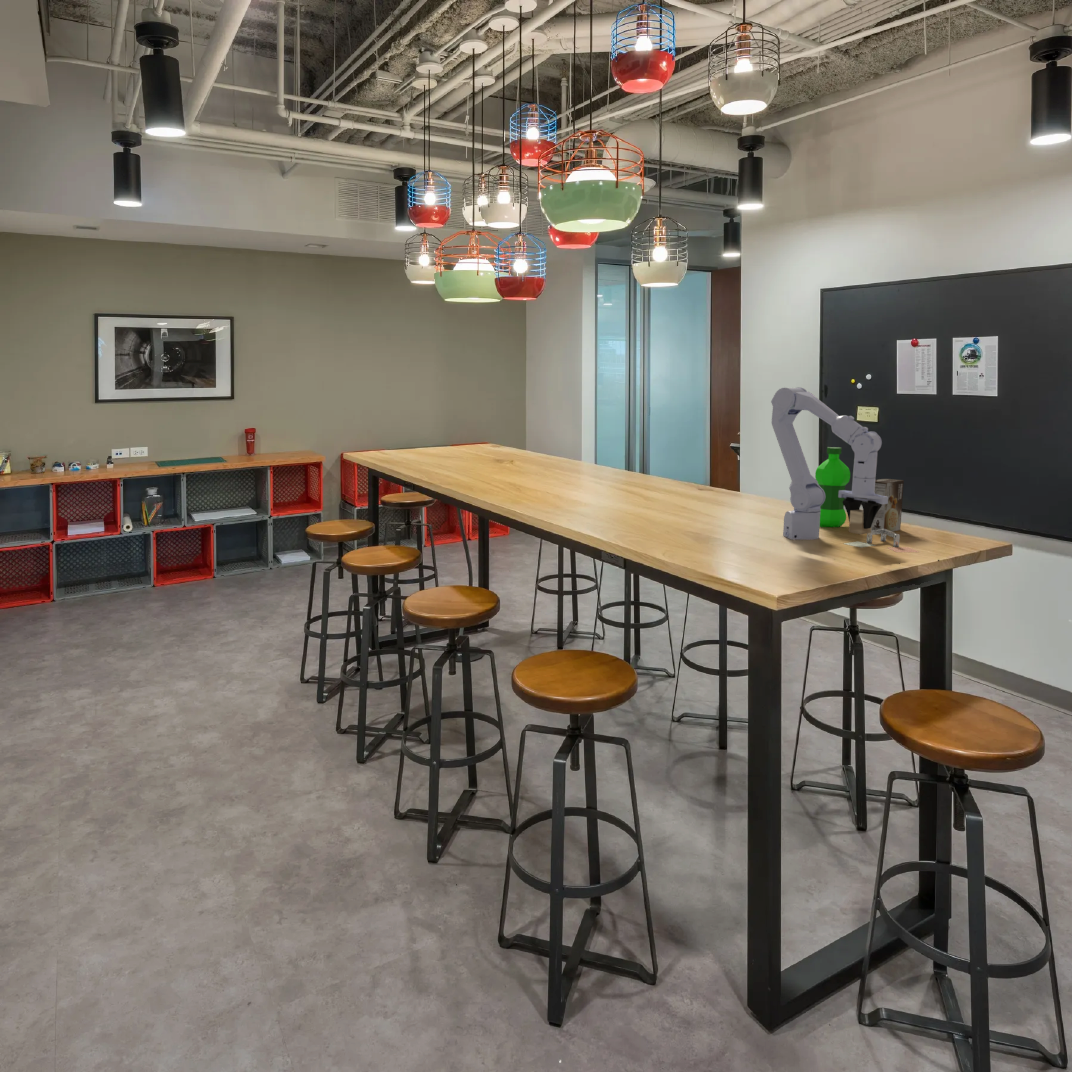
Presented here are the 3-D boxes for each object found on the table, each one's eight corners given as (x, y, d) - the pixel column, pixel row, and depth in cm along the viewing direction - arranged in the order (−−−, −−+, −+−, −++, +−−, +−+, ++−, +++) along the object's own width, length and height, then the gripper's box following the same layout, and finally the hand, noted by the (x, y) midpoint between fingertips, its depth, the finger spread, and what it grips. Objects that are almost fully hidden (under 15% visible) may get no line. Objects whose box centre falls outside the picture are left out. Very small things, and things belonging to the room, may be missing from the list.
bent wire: (878, 548, 219) (879, 535, 218) (861, 541, 228) (862, 529, 227) (902, 547, 219) (903, 534, 219) (884, 540, 229) (885, 528, 228)
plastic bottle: (851, 531, 249) (857, 449, 244) (817, 531, 249) (822, 449, 245) (840, 525, 259) (845, 446, 254) (807, 525, 259) (811, 446, 254)
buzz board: (865, 558, 212) (866, 553, 211) (833, 543, 230) (833, 539, 229) (924, 556, 213) (924, 552, 213) (887, 542, 231) (887, 538, 231)
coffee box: (880, 530, 251) (885, 478, 248) (900, 533, 246) (905, 480, 243) (863, 533, 245) (867, 480, 242) (883, 536, 240) (887, 482, 237)
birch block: (860, 534, 220) (862, 512, 219) (848, 532, 223) (850, 510, 222) (870, 533, 222) (872, 511, 221) (858, 530, 225) (860, 509, 224)
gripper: (897, 479, 215) (892, 529, 218) (852, 473, 228) (848, 521, 230) (879, 481, 212) (875, 532, 215) (834, 475, 224) (831, 523, 227)
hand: (860, 527), depth 222 cm, fingers closed on birch block, 4 cm apart
